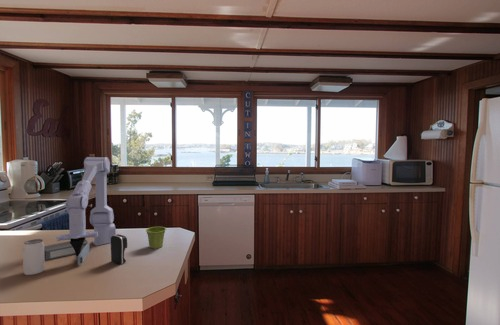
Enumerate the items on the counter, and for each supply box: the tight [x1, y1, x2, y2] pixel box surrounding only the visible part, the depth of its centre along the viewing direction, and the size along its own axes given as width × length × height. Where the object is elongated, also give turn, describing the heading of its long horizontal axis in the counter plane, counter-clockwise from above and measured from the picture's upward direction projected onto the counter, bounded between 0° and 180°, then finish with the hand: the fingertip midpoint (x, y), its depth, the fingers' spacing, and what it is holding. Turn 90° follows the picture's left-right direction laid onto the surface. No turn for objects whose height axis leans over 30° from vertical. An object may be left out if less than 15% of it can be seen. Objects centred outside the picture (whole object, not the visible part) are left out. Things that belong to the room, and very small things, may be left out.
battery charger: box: [110, 233, 128, 265], centre depth 114 cm, size 7×4×11 cm, turn 60°
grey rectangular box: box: [44, 238, 89, 261], centre depth 123 cm, size 17×8×4 cm, turn 132°
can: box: [22, 238, 46, 276], centre depth 104 cm, size 6×6×12 cm
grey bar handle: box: [77, 242, 91, 267], centre depth 118 cm, size 17×2×4 cm, turn 19°
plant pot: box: [145, 226, 167, 250], centre depth 132 cm, size 9×9×9 cm
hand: (78, 255), depth 113 cm, fingers closed
